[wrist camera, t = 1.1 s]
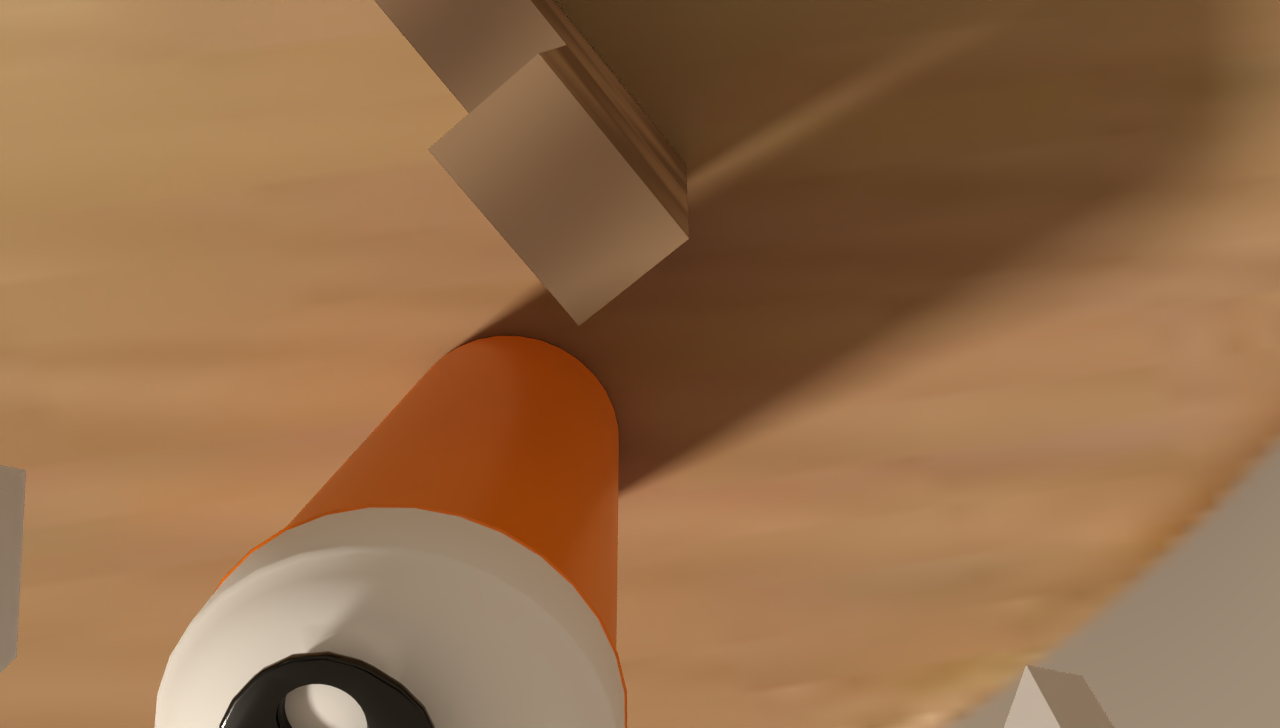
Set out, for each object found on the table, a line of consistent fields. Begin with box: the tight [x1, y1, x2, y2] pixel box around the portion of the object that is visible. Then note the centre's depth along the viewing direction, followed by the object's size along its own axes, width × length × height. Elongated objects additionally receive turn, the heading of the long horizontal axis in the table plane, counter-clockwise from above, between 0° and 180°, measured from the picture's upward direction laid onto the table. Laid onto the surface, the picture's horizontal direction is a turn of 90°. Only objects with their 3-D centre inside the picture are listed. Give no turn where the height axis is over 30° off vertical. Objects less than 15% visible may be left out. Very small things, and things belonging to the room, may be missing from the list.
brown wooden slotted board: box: [374, 0, 689, 326], centre depth 29 cm, size 14×3×12 cm, turn 39°
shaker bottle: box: [155, 336, 627, 728], centre depth 29 cm, size 9×9×20 cm
